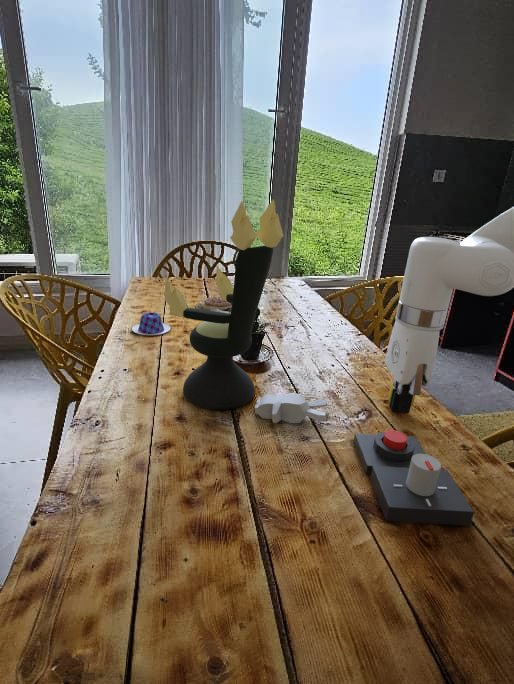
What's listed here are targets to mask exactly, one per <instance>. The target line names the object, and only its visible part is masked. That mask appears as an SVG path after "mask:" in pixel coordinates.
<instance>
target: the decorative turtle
mask: <svg viewBox="0 0 514 684" xmlns="http://www.w3.org/2000/svg"><path fill="white" fill-rule="evenodd" d="M194 308H196V309H203V310H209V311H216V312H223V313H229V314H230V312H229V311H225V310H228V309H231V308H232V304H231V303H229V302H227V301H226V300H223V299H221V298H220V296H216V295H215V296H211V297H207V298H205V299H203V300H200V302H197V303H195V305H194Z"/></svg>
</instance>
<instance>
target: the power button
mask: <svg viewBox="0 0 514 684" xmlns="http://www.w3.org/2000/svg"><path fill="white" fill-rule="evenodd" d="M384 432H385V434H384V439H383V443H384V445H386V446H387V447H389V448H392V449H395V450H403V449H405V447H406V443H407V437H406V436H407V435H406V434H405V433H403V432H401V431H399V430H396V429H395V430H394V429H389V430H386V431H384Z"/></svg>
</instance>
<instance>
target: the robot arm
mask: <svg viewBox="0 0 514 684" xmlns="http://www.w3.org/2000/svg"><path fill="white" fill-rule="evenodd" d="M410 244H411V245H410V247H409V250H408V256H407V261H406V265H405V269H404V275H403V280H402V284H401V289H400V295H399V300H398V304H397V309H396V314H395V319H394V320H395V322H394V324H393V327H392V331H391V334H390V337H389V341H388V345H387V350H386V353H385V357H384V363H385V365H386V367H387V369H388V370H389V372H390V373H391V375H392V376H393V381H392V385H393V387H394V388H396V389H393V390H392V395H391V399H390V404H389V403H388V407H389V409H390V411H391V413H393V414H409V413H410V411H411V408H412V407H411V403H412V399H413V395H415V396H420V395H421V393H422V387H427V386H429V384H430V382H431V379H432V376H433V372H434V368H435V363H436V358H437V354H438V348H439V341H440V340H439V338H440V332H441V330H443V329H444V326H445V322H446V319H447V315H448V310H449V307H450V303H451V300H452V295H453V292H454V289H455V290H459V291H463V292H467V293H470V294H474V295H477V296H483V297H494V296H500V295H503V294H505V293H507V292H509V291H511V290H512V289H513V288H514V206H512V207H511V208H509V209H508V210H505V211H504V212H503V213H500V214H499V215H498V216H496V217H494V218H493V219H491V220H490V221H488V222H487V223H485V224H484V225H483V226H481V227H480V228H478V229H477V230H475V231H473V232H472V233H471V234H470V235H468V236H467V237H466V238H465V239H463V240H462V241H461V242H460V243H459V242H458V241H456V240H453V239H449V238H445V237H444V238H443V237H437V236H420V237H417V238H415V239H414V240H413V241H412V243H410Z"/></svg>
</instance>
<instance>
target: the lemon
mask: <svg viewBox="0 0 514 684" xmlns="http://www.w3.org/2000/svg"><path fill="white" fill-rule="evenodd" d="M393 389H396V388H394V387H393V384H392V385H391V386H390V388H389V391H388V394H387V399H388V401H387V402H388V405H389V404H390V399H391V395H392V390H393ZM415 399H416V395H413V399H412V403H411V408H412V407H413V405H414V403H415Z"/></svg>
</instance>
